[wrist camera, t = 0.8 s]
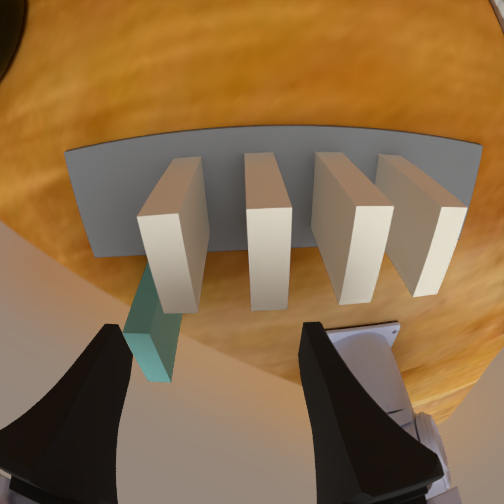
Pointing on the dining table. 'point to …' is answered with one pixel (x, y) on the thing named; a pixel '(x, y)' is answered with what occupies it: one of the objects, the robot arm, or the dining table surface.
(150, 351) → the domino
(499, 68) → the dining table surface
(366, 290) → the domino
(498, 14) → the packaged product
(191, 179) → the domino
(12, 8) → the beer bottle
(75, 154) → the mat
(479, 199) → the dining table surface
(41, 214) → the dining table surface
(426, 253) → the domino
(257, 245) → the domino
